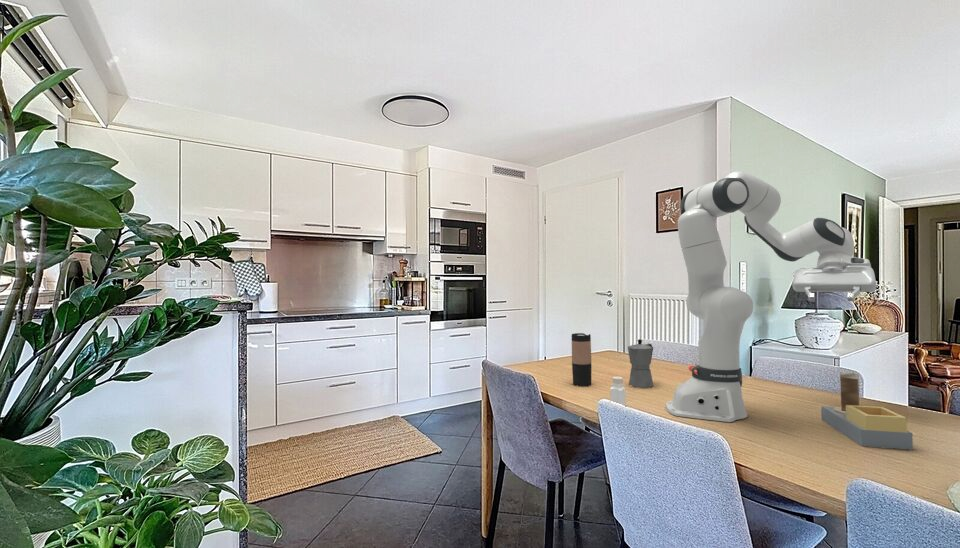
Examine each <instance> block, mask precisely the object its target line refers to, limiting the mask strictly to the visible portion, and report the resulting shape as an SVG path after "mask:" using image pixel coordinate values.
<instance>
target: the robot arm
mask: <svg viewBox="0 0 960 548" xmlns="http://www.w3.org/2000/svg"><path fill="white" fill-rule="evenodd" d="M781 202H782V198H781V193H780V192H779V191H778V190H777V188H775V187H774V186H773V185H771V184H770V183H767V182H766V181H764V180H762V179H761V178H759V177H757V176H754V175H752V174H749V173H746V172H744V171H733V172H730V173H729V174H727V175H726V176H725V177H723V178H721V179H719V180H717V181H712V182H708V183H705V184H703V185H700V186H698V187H696V188H694V189H691V190H690V191H688V192H686V194H685V195H684V196H682V199H681V201H680V205H679V206H680V216H679V217H678V219H677V231H678V238H679V244H680V248H681V251H682V252H681V253H682V256H683V259H684V260H683V261H684V264H685V267H686V271H687V278H688V280H687V281H688V282H687V283H688V284H687V285H688V294H687V297H686V300H685V301H686V302H685V304H686V308H687V310H688V311H689V313H691V314H692V315H693V316H695V317H696V318H698V319H701V320H704V321H705V324H704V328H703V332H702V335H701V336H700V337H699V339H698V343H697V345H698V349H697V350H698V364H697V365H696V366H695V365H694V364H689V365H688V367H687V368H688V370H689V372H691V377H690V378H689V379H686V380H685V381H684V382H682V383H681V384H679V385H677V387H676V388H675V389H674V391H673V396H672V400H668V401H667V402H666V403H665V409H666V411H667V412H668V413H669V414H671V415H673V416H676V417H683V418H689V419H690V418H692V419H699V420H707V421H717V422H724V423H733V422H735V421H736V420H742V419H745V418H747V417H748V415H749V414H748V412H747V410H746V405H745V402H744V398H743V392H742V387H743V372H742V368H741V366H740V341H741V337H742V336H741V335H742V333H743V329H744V326H745V323H746V322H747V320H749V318H750V317H751V316H752V314H753V311H754V302H753V299H752V298H751V296H750V295H749V294H748V293H747V292H745V291H744V290H741V289H738V288H736V287H732V286H725V284H724V283H725V282H724V274H725V273H724V272H725V269H726V268H727V259H726V255H725V251H724V249H723V244H722V240H721V237H720V233H719V231H718V228H717V225H716V223H717V221H716V220H717V218H719V217H723V216H726V215H728V214H731V213H736V212H737V211H739V212H741V213H742V214H744V219H743V220H744V223H745V225H746V226H747V228H749V230H751V232H753V233H754V234H755V235H756V236H757V237H759V238H760V239H761V240H762V241H763V242H764V243H765V244H767V246H769V247H770V248H771V249H772V250H773V252H774V253H775V254H776V255H777V256H778V257H779V258H780V259H781V260H784V261H788V262H797V261H798V260H800V259H802V258H805V257H806V256H807V255H810V254H813V253H815V252H817V253H818V254H819V256H818V258H817V264H816V267H809V268H804V267H803V268H799V269H796V270H794V272H793V279H792V282H791V285H792V289H793V291H795V292H797V293H801V292H803V293H804V292H805V294H806V296H807V300H808V301H810V302H815V301H816V300H815V298H816V295H815V292H816V293H820V292H821V293H828V292H829V293H847V302H855V300H856V298H857V297H858V296H859V295H861V293H873V292H875V291H876V290H877V280H876V274H875V271H874V268H872V263H871V262H870V260H869V259H867V258H862V257H856V256H854V253H855V241H854V238H853V235H852V232H850V230H848V229H847V228H845V227H843V226H840V225H839V224H838V223H837V222H835V221H833V220H831V219H827V218H824V217H816V218H813V219H810V220H809V221H807V222H806V223H803V224H801V225H800V226H798V227H795V228H793V229H791V230H789V231H785V232H780V231H779V230H777V229H776V228H775V227H774V226H773V225H772V224H771V223H769V222H770V221H771V220H772V219H773V218H774V217H775V216H776V214H777V212H778V211H779V209H780V207H781Z"/></svg>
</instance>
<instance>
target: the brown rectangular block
mask: <svg viewBox="0 0 960 548" xmlns="http://www.w3.org/2000/svg"><path fill="white" fill-rule="evenodd" d="M859 377H860V375H859V373H854V372H853V373H852V372H844V371H843V372H841V373H840V374H839V378H840V379H839V380H840V381H839V382H840V383H839V384H840V401H841V403H840V407H841V411H846V405H855V406H860V384H859V383H860V382H859V380H860V379H859Z"/></svg>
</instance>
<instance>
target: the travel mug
mask: <svg viewBox="0 0 960 548" xmlns="http://www.w3.org/2000/svg"><path fill="white" fill-rule="evenodd" d="M571 370H572V371H571V372H572V384H573V386H576V385H578V386H577V387H590V386H592V338H591V334H586V333H583V332H576V333H571ZM589 385H590V386H589Z"/></svg>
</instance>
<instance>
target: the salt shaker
mask: <svg viewBox="0 0 960 548" xmlns="http://www.w3.org/2000/svg"><path fill="white" fill-rule="evenodd" d="M623 381H624V378H623V377H622V376H613V377H612V386H611V387H610V389H609V390H610V391H609V393H610V402H611V401H613V402H616V403H619V404H622V405H625V407H626V404H627V403H626V402H627V401H626V396H627V395H626V387H625V386H623V384H624V382H623Z"/></svg>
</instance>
